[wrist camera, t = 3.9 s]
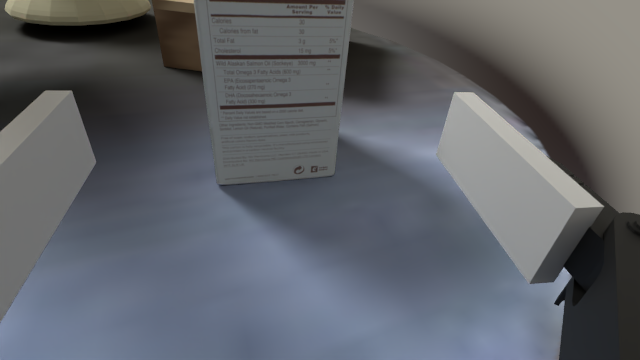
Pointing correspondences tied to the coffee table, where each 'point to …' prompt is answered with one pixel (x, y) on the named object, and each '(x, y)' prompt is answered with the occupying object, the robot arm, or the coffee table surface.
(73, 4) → the handbell
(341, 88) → the supplement box
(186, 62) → the walnut stand
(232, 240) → the coffee table surface
